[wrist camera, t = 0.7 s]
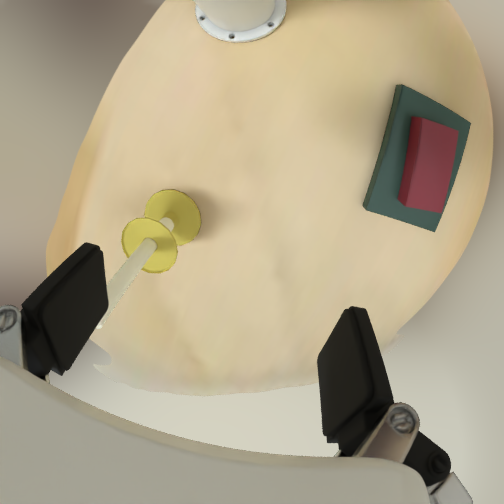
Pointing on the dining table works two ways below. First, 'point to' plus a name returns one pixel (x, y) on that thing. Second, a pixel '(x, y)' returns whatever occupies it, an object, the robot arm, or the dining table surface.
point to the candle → (154, 240)
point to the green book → (394, 154)
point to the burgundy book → (427, 165)
